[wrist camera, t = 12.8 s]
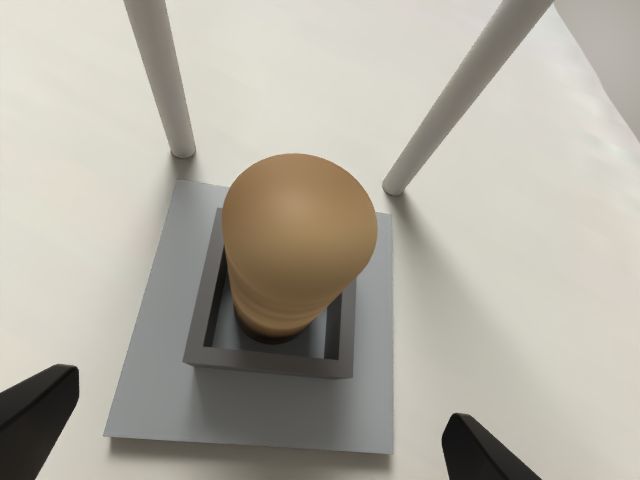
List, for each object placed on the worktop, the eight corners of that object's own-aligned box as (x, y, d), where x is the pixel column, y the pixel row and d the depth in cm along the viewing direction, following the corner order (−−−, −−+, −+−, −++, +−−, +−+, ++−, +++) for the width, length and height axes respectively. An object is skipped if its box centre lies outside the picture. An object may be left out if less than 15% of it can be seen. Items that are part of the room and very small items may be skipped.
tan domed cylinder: (323, 329, 20) (402, 268, 10) (246, 356, 18) (247, 319, 8) (297, 258, 21) (344, 142, 11) (225, 279, 20) (203, 168, 10)
